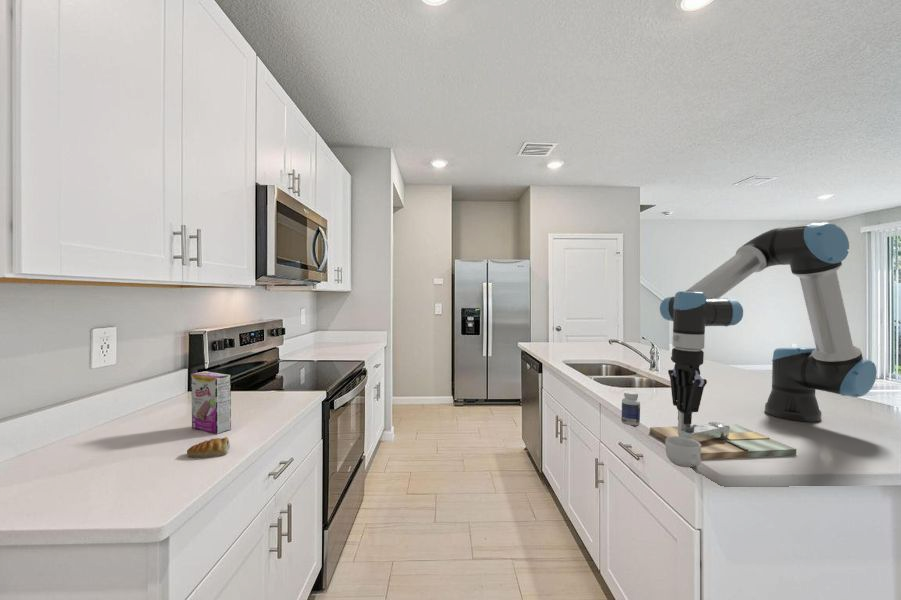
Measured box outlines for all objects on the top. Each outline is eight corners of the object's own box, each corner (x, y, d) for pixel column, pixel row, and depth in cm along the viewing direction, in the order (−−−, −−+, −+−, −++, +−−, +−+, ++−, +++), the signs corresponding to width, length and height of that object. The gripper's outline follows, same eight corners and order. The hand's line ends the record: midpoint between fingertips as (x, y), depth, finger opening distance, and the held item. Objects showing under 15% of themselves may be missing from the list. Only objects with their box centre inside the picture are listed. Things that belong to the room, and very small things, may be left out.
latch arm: (715, 429, 124) (715, 417, 124) (733, 435, 120) (733, 422, 119) (676, 438, 117) (676, 424, 117) (693, 444, 112) (693, 430, 112)
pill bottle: (641, 426, 135) (642, 395, 134) (623, 425, 136) (623, 394, 135) (637, 421, 140) (638, 391, 140) (619, 420, 141) (620, 390, 141)
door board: (736, 429, 133) (736, 422, 132) (796, 455, 113) (796, 446, 113) (649, 432, 129) (650, 424, 129) (696, 459, 109) (696, 450, 109)
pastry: (184, 462, 105) (184, 446, 105) (189, 452, 111) (189, 437, 111) (228, 456, 109) (228, 441, 109) (230, 447, 115) (230, 433, 115)
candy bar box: (190, 429, 128) (189, 373, 127) (206, 424, 133) (205, 370, 132) (216, 435, 123) (216, 377, 123) (232, 429, 128) (231, 374, 127)
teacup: (658, 458, 110) (658, 436, 110) (686, 456, 111) (687, 435, 111) (684, 475, 100) (684, 452, 100) (714, 473, 101) (715, 450, 101)
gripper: (660, 345, 123) (657, 427, 125) (690, 353, 111) (686, 444, 112) (685, 344, 124) (681, 426, 126) (717, 352, 112) (713, 443, 113)
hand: (683, 434), depth 119 cm, fingers closed
